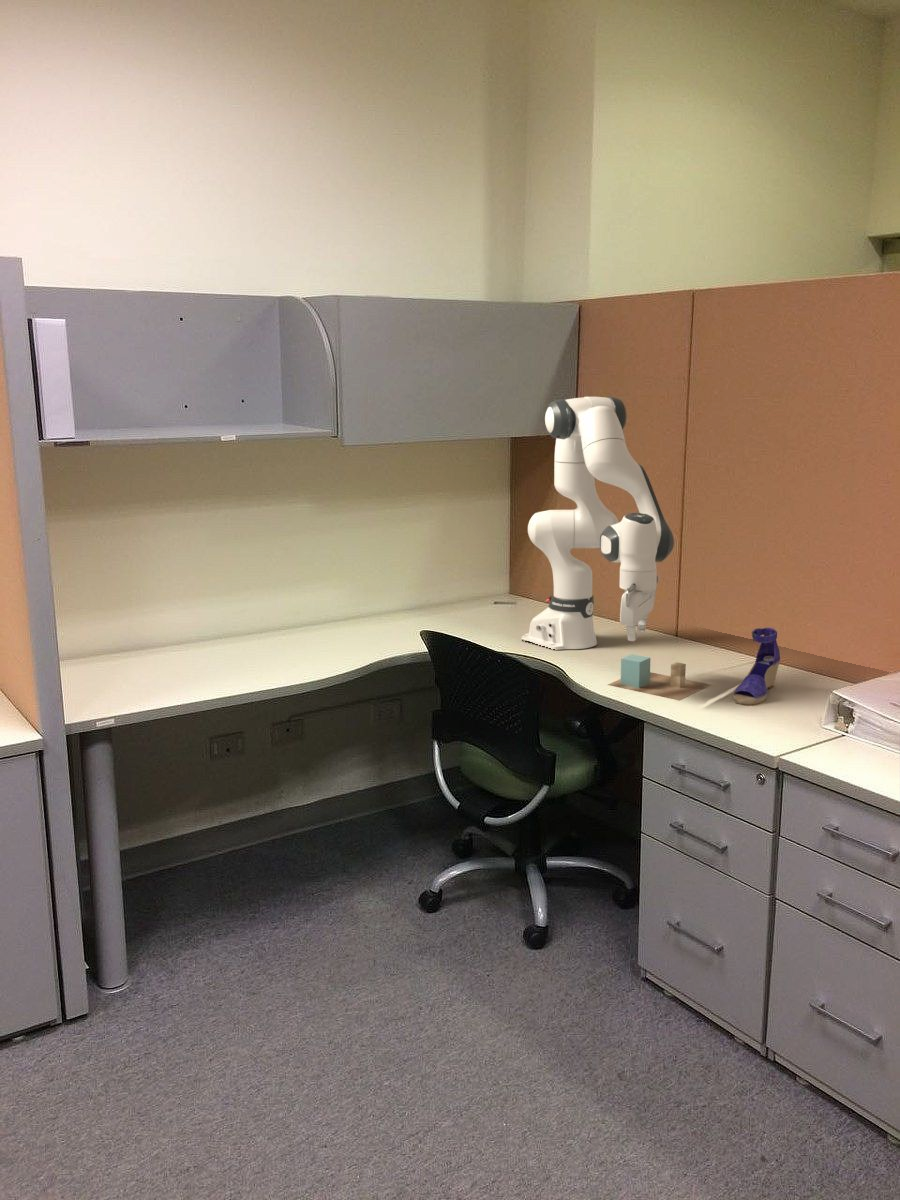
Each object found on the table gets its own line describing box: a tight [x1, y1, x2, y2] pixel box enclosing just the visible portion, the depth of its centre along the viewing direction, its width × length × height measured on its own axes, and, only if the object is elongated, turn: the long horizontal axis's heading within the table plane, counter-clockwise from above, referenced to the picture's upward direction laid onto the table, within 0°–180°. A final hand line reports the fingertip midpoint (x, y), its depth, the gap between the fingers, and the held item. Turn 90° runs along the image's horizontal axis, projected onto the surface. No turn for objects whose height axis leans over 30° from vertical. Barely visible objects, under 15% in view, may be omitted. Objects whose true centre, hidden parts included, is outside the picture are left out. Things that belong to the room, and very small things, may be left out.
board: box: [607, 671, 712, 702], centre depth 248 cm, size 20×16×1 cm
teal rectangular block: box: [620, 653, 651, 688], centre depth 248 cm, size 5×5×7 cm
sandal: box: [732, 627, 781, 706], centre depth 240 cm, size 8×20×15 cm, turn 135°
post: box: [670, 661, 687, 688], centre depth 246 cm, size 3×3×6 cm
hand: (636, 636), depth 246 cm, fingers open, 8 cm apart
